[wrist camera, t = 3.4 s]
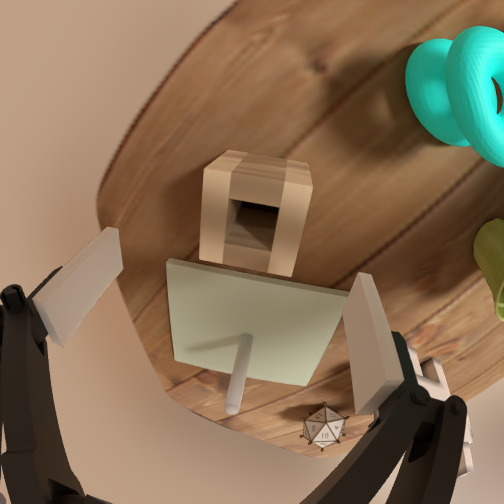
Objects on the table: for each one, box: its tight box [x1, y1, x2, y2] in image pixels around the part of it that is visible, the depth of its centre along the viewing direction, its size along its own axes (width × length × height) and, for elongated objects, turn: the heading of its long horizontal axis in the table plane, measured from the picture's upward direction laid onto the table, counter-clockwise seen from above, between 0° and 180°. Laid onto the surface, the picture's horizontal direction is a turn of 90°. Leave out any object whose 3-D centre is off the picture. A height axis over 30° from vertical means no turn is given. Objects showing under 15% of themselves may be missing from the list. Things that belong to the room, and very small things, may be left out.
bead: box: [199, 150, 313, 277], centre depth 22 cm, size 7×7×7 cm
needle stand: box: [166, 258, 349, 415], centre depth 29 cm, size 18×20×12 cm
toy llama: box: [374, 345, 474, 478], centre depth 26 cm, size 8×18×20 cm, turn 62°
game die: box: [300, 402, 350, 452], centre depth 39 cm, size 9×8×10 cm
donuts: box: [405, 26, 504, 168], centre depth 12 cm, size 10×10×10 cm
